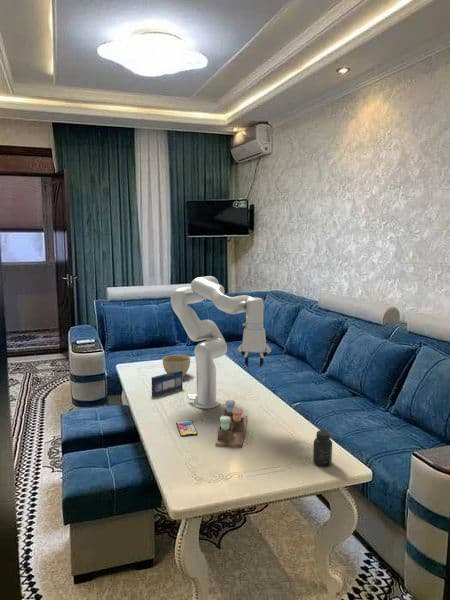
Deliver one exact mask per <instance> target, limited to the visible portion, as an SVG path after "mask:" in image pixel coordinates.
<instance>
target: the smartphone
mask: <svg viewBox="0 0 450 600" xmlns="http://www.w3.org/2000/svg"><path fill="white" fill-rule="evenodd" d="M175 425H176V428H177V429H178V434H179V436H180V437H183V438H184V437H185V438H187V437H193V436H198V431H197V429H196V426H195V424H194V422H193V420H191V419H190V420H181V421H180V420H179V421H178V420H177V421H175Z"/></svg>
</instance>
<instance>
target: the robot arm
mask: <svg viewBox="0 0 450 600" xmlns="http://www.w3.org/2000/svg"><path fill="white" fill-rule="evenodd" d="M206 299H207V300H208V301H211V302H212V304H213V305H214V306H215V307H216V309H217V310H220V311H222V312H224V313H225V314H229V315H236V314H237V315H238V314H243V313H245V322H243V323H242V327H245V328H244V329H243V334H242V342H241V343H240V345H239V346H238V347H237V351H238V352H239V353H240V355H242V356H243V357H244V365H246V368H247V367H249V353H259V355H260V357H259V368H262V366H263V365H264V358H265V357H266V356H268V354H269V353H271V352H272V348H271V347H270V346H269V345H268V343H267V340H266V339H267V338H266V329H265V328H264V309H265V306H264V303H265V302H264V299H263V298H261V297H253V296H250V295H248V294H247V295H246V294H243V295H237V296H229V295H225V287H224V286H223V285H222V284H220V283H219V281H218V279H217V278H216V277H215V276H212V275H207V276H199V277H195V278H194V279H193V280H192V281H191V283H190V286H186V287H185V286H183V287H179V288H177V289H175V290H174V291H172V293H171V294H170V305H171V308H172V310H173V312H174V313H175V315H176V316H177V317H178V319H179V321H180V323H181V325H182V326H183V329H184V330H185V332H186V334H187V336H188V338H189V339H190V340H191V341H193V342H199V343H197V345H196V346H195V347H194V350H193V351H194V352H193V353H194V357H195V363H196V364H195V365H196V366H195V367H196V394H188V396H187V399H189V401H193V406H195V407H196V408H198V409H203V410H204V409H215V408H218V406H219V405H220V400H219V399H217V367H216V364H215V362H214V360H216V359H218V358H221V357H223V356H225V355H226V354H227V352H228V345H227V342H226V340H225V338H224V336H223V335H222V332H221V331H220V329H219V327H218V326H217V324H216V323H215V322H214V321H213V320H211V319H203V320H201V319H200V317H199V316H198V315H197V312H196V311H195V310H194V309H193V308H192V307H190V306H189V305H191V304H197V303H200V302H203V301H204V300H206ZM200 341H201V342H200Z"/></svg>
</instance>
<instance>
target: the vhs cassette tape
mask: <svg viewBox="0 0 450 600" xmlns="http://www.w3.org/2000/svg"><path fill="white" fill-rule="evenodd" d="M182 375H183V373H182V371H181V370H179V371H174V372H171V373H164V374H160V375H156V376H152V377H151V396H152V397H154V398H155V397H159V396H162V395H166V394H169V393H172V392H176V391H179V390H183V385H184V384H183V379H184V377H183V376H182Z"/></svg>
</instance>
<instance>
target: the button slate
mask: <svg viewBox="0 0 450 600" xmlns="http://www.w3.org/2000/svg"><path fill="white" fill-rule="evenodd" d="M235 405H236V401H235V400H233V399H227V400H226V401H225V406H226V408H225V409H226V413H232V410H233V409H235Z"/></svg>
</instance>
